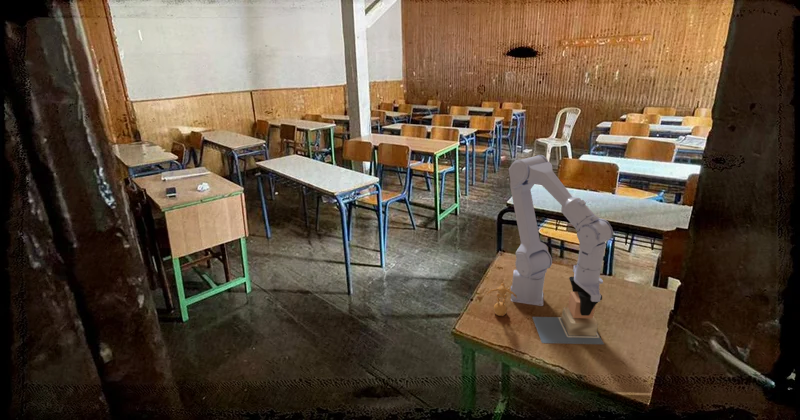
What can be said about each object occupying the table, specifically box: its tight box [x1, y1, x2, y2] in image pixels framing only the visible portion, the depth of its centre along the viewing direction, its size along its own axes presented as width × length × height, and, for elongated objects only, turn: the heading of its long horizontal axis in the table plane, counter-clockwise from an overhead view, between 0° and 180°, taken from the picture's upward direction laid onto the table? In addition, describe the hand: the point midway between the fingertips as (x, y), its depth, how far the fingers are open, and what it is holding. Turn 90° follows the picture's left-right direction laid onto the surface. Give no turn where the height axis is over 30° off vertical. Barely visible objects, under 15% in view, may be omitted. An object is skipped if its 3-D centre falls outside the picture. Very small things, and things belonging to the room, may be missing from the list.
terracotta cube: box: [567, 291, 596, 318], centre depth 112 cm, size 5×5×5 cm
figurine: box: [486, 282, 517, 317], centre depth 118 cm, size 8×6×12 cm
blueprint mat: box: [532, 316, 605, 345], centre depth 114 cm, size 16×11×1 cm
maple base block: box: [561, 306, 599, 336], centre depth 114 cm, size 7×7×4 cm
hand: (581, 308), depth 112 cm, fingers closed on terracotta cube, 5 cm apart
